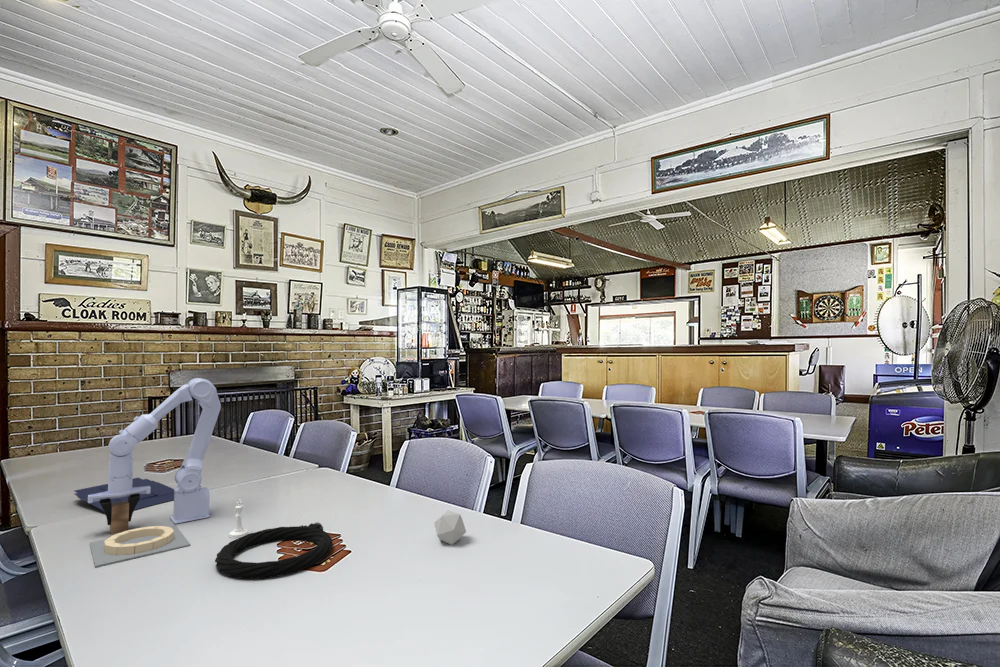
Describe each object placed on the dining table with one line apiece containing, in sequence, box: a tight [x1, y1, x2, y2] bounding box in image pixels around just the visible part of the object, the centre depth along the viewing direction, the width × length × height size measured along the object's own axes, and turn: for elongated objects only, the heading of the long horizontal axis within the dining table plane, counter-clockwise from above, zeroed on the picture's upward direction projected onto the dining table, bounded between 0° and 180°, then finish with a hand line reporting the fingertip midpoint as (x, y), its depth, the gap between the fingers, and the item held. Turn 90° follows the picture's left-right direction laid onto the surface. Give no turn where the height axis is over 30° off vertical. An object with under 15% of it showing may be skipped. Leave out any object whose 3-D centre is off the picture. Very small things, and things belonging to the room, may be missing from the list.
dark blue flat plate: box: [73, 477, 176, 512], centre depth 175 cm, size 24×30×4 cm
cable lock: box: [214, 522, 333, 580], centre depth 128 cm, size 28×4×30 cm
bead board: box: [89, 524, 191, 568], centre depth 134 cm, size 20×20×2 cm
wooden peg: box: [109, 501, 130, 535], centre depth 145 cm, size 4×4×8 cm
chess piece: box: [228, 498, 249, 539], centre depth 142 cm, size 5×5×10 cm
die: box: [434, 510, 467, 546], centre depth 138 cm, size 8×9×10 cm
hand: (119, 522), depth 145 cm, fingers closed on wooden peg, 4 cm apart
